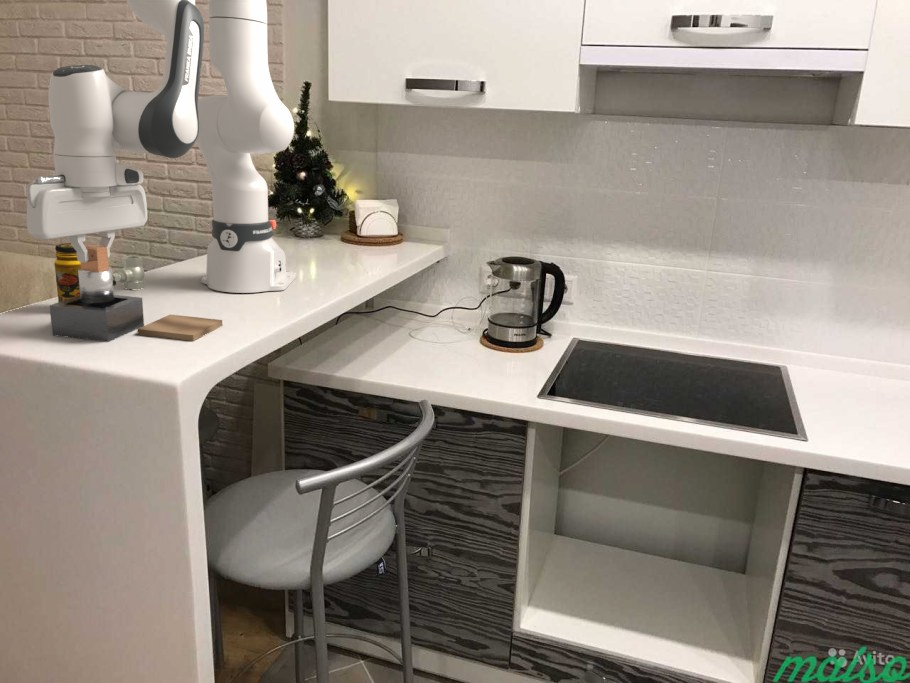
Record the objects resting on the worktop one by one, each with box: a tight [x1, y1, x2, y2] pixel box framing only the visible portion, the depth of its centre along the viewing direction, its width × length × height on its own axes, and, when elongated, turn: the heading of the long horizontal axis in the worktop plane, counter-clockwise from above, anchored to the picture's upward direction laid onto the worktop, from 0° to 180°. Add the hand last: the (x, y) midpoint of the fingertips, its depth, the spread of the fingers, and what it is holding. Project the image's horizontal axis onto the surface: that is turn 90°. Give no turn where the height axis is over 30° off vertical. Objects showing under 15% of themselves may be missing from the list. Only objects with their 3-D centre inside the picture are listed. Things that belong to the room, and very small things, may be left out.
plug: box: [78, 242, 115, 303], centre depth 124 cm, size 5×5×9 cm
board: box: [137, 314, 223, 342], centre depth 129 cm, size 10×10×1 cm
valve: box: [112, 255, 145, 290], centre depth 151 cm, size 7×7×12 cm
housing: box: [49, 294, 145, 343], centre depth 126 cm, size 10×10×5 cm
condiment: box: [54, 242, 85, 303], centre depth 137 cm, size 7×8×12 cm
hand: (94, 260), depth 123 cm, fingers closed on plug
